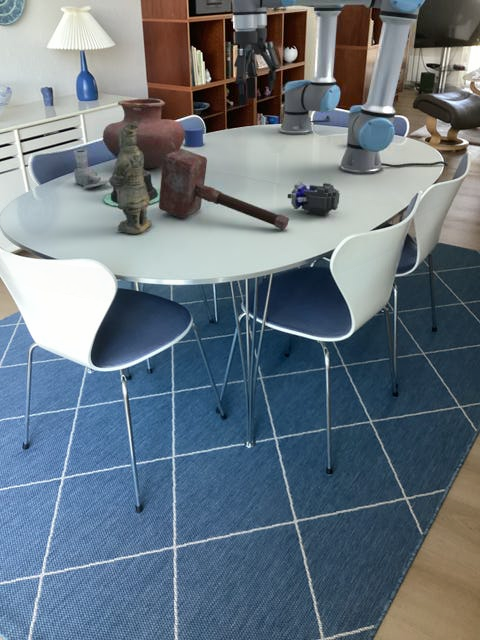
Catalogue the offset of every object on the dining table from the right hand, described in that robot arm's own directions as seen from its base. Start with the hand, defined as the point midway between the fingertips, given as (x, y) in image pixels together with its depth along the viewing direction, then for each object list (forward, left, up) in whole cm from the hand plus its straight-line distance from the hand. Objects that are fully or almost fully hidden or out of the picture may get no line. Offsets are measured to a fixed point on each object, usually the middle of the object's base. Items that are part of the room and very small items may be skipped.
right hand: (247, 101), depth 186 cm
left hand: (-3, -37, -1) cm, 38 cm away
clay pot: (+40, -22, -28) cm, 53 cm away
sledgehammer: (+7, +39, -28) cm, 48 cm away
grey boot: (+56, +2, -28) cm, 63 cm away
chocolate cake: (+38, +16, -28) cm, 50 cm away
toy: (-20, +33, -28) cm, 48 cm away
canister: (+25, -59, -28) cm, 70 cm away
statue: (+33, +46, -28) cm, 62 cm away
